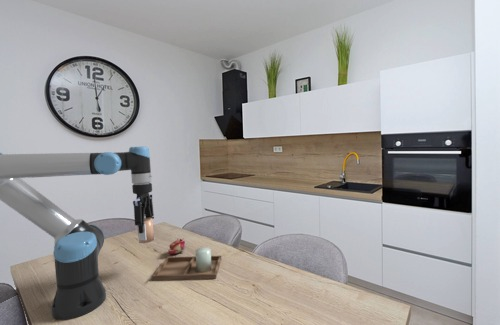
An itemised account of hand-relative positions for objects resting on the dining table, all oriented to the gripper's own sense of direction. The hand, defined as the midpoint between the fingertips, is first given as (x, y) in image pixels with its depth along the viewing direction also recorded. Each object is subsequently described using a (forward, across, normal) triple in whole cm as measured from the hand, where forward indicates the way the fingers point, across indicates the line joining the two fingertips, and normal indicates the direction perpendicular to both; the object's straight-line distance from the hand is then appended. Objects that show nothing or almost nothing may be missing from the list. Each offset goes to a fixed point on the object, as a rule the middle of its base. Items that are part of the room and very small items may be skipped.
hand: (146, 237), depth 103 cm
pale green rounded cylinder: (+15, -1, -24) cm, 28 cm away
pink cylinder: (+1, 0, 0) cm, 1 cm away
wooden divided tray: (+15, -1, -18) cm, 23 cm away
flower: (+16, +16, -7) cm, 24 cm away
